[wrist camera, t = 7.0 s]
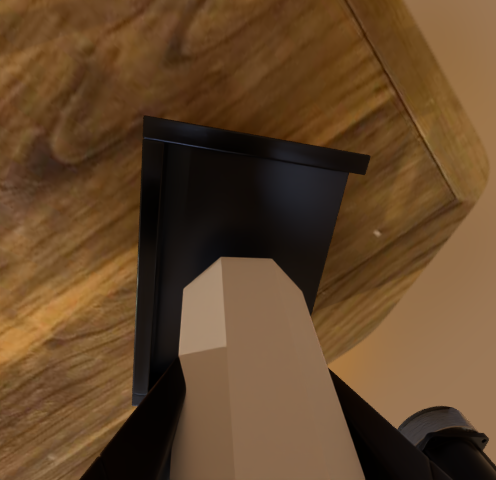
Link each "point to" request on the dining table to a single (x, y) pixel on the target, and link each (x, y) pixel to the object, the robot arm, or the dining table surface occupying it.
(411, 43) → the dining table surface
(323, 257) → the black open box
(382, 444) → the robot arm
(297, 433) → the salt shaker
